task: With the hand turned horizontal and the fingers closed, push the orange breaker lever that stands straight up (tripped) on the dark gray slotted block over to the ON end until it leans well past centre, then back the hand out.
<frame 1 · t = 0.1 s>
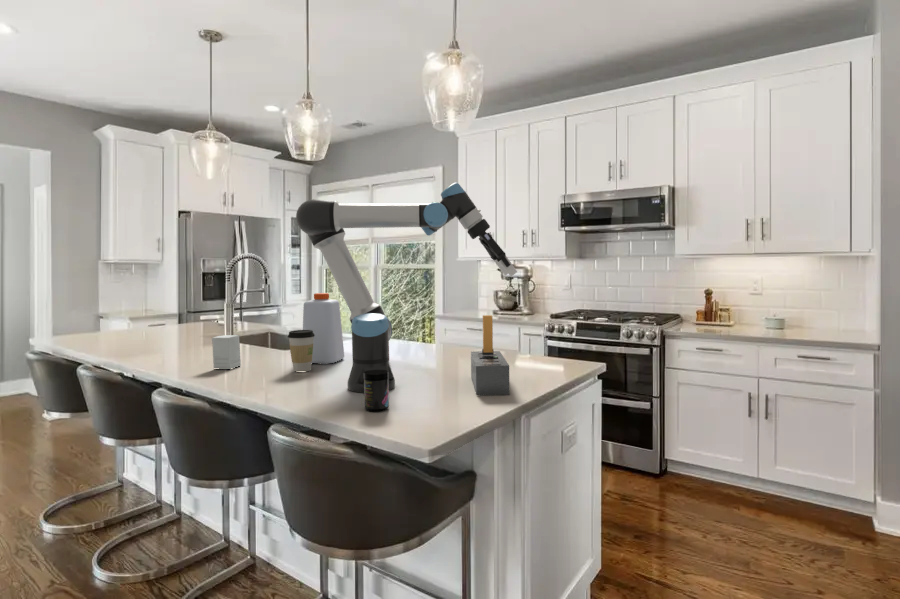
hand: (511, 274, 188), 36 cm above the countertop, tool tilted 35°, fingers open, 13 cm apart
dark gray slotted block: (488, 385, 176), on the countertop
plastic bottle: (323, 361, 224), on the countertop
supplement box: (227, 368, 211), on the countertop
coffee cup: (302, 371, 204), on the countertop
supplement container: (376, 410, 150), on the countertop
lever: (487, 335, 178), point 16 cm above the countertop, hinge at 0.0°
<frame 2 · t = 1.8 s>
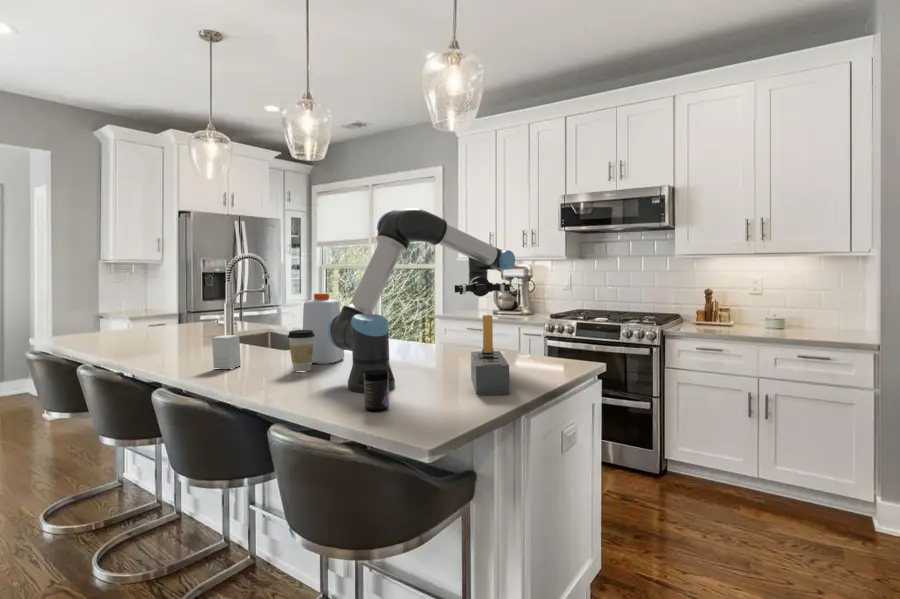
hand: (483, 289, 189), 30 cm above the countertop, tool horizontal, fingers open, 13 cm apart
nothing on the countertop moved.
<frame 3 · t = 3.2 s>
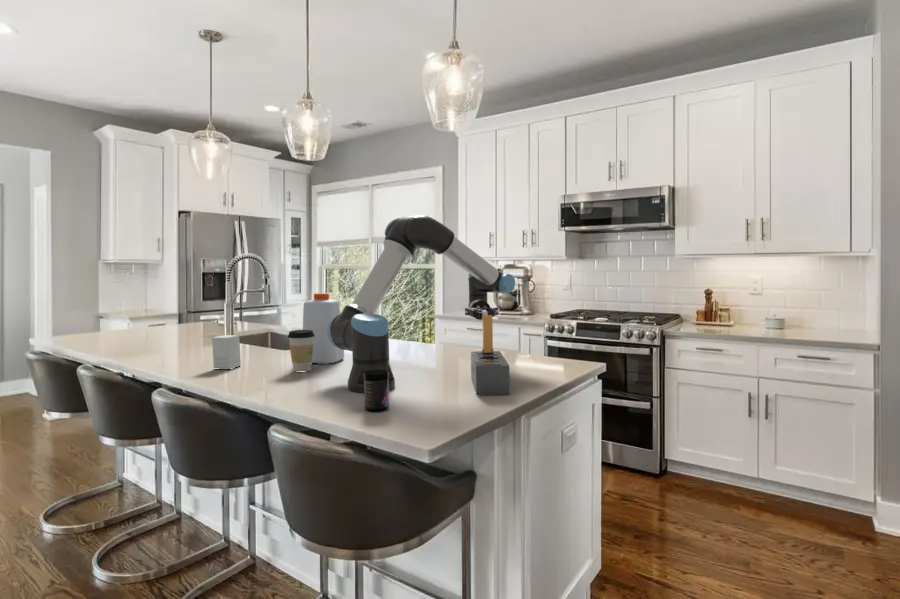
hand: (485, 315, 189), 21 cm above the countertop, tool horizontal, fingers closed
nothing on the countertop moved.
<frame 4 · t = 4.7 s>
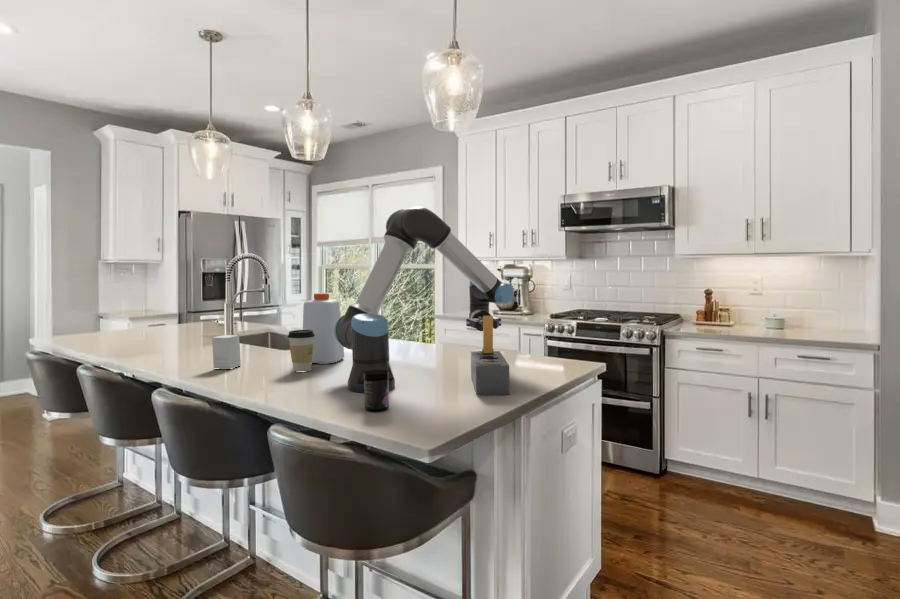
hand: (488, 327, 179), 18 cm above the countertop, tool horizontal, fingers closed
lever: (487, 335, 177), point 16 cm above the countertop, hinge at 9.3°, touching gripper
everything else where it was.
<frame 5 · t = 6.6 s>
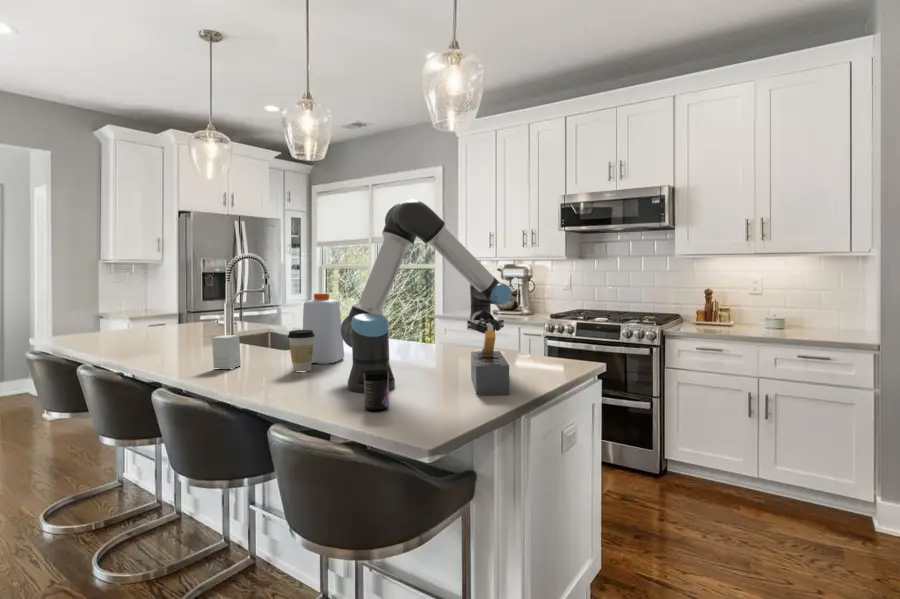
hand: (490, 330, 171), 19 cm above the countertop, tool horizontal, fingers closed
lever: (488, 344, 174), point 14 cm above the countertop, hinge at 53.3°, touching gripper
everything else where it was.
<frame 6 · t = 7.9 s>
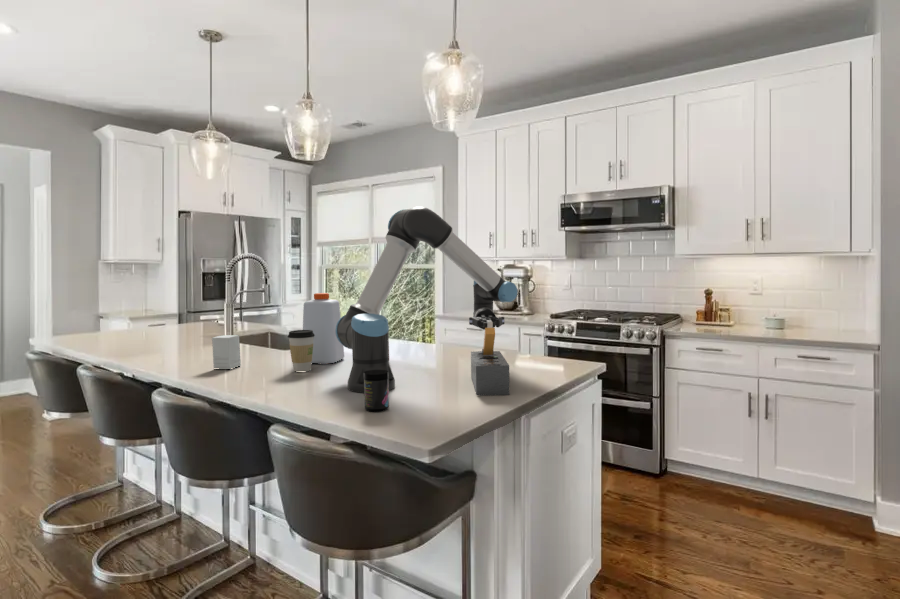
hand: (490, 326, 178), 19 cm above the countertop, tool horizontal, fingers closed
lever: (488, 342, 174), point 14 cm above the countertop, hinge at 47.5°
everything else where it was.
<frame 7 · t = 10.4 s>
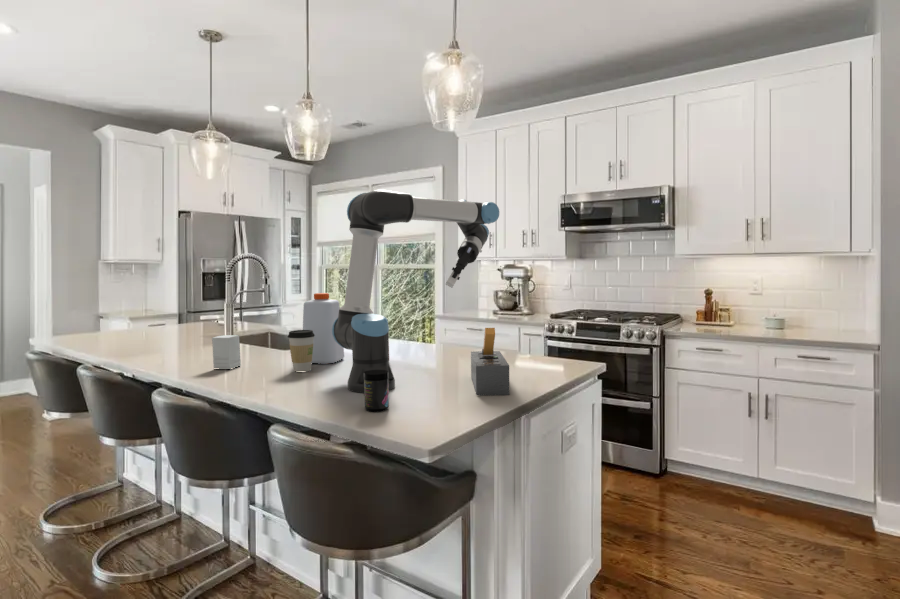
hand: (449, 284, 186), 32 cm above the countertop, tool tilted 60°, fingers closed
nothing on the countertop moved.
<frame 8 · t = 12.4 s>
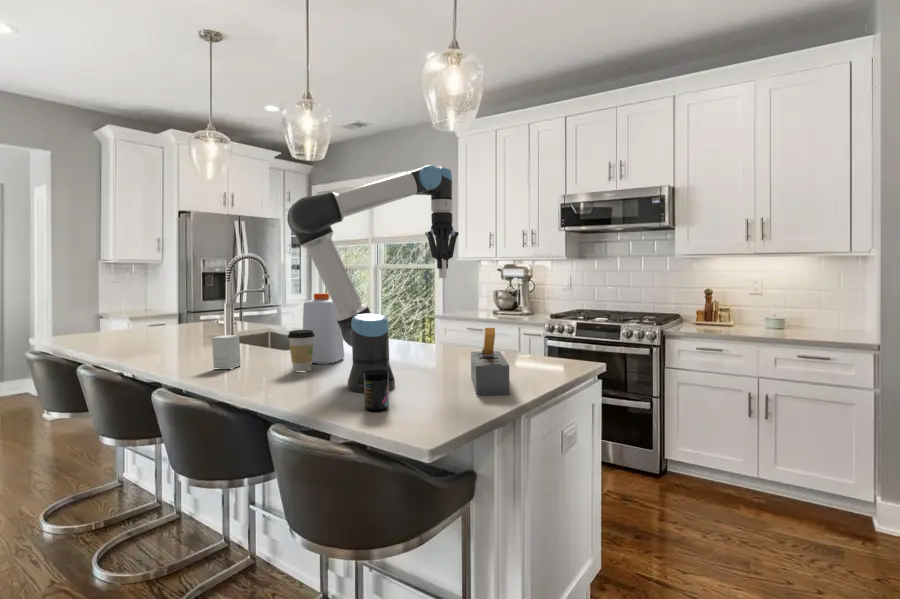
hand: (442, 278, 197), 34 cm above the countertop, tool pointing down, fingers closed
nothing on the countertop moved.
at the end: lever tilted 48° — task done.
